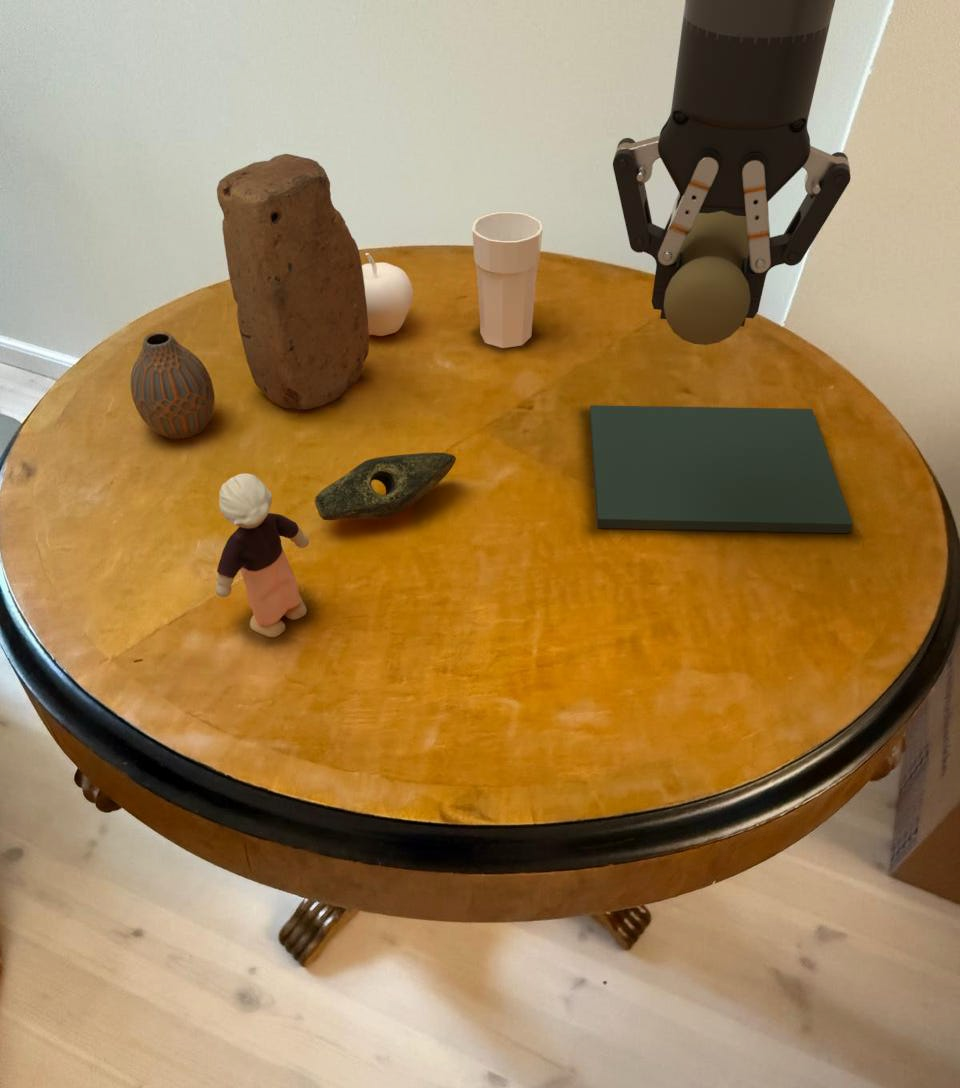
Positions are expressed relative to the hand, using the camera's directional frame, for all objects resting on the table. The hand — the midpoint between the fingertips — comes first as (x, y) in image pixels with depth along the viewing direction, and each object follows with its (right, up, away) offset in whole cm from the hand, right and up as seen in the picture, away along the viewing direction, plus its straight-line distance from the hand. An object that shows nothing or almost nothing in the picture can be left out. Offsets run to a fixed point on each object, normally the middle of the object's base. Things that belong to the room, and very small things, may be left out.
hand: (702, 315), depth 61 cm
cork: (+1, +7, +3) cm, 7 cm away
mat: (+5, -7, +19) cm, 20 cm away
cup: (-12, +10, +34) cm, 38 cm away
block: (-30, +3, +28) cm, 42 cm away
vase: (-42, -2, +24) cm, 48 cm away
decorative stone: (-22, -11, +16) cm, 29 cm away
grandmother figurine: (-30, -20, +7) cm, 36 cm away
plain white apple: (-25, +11, +35) cm, 45 cm away
